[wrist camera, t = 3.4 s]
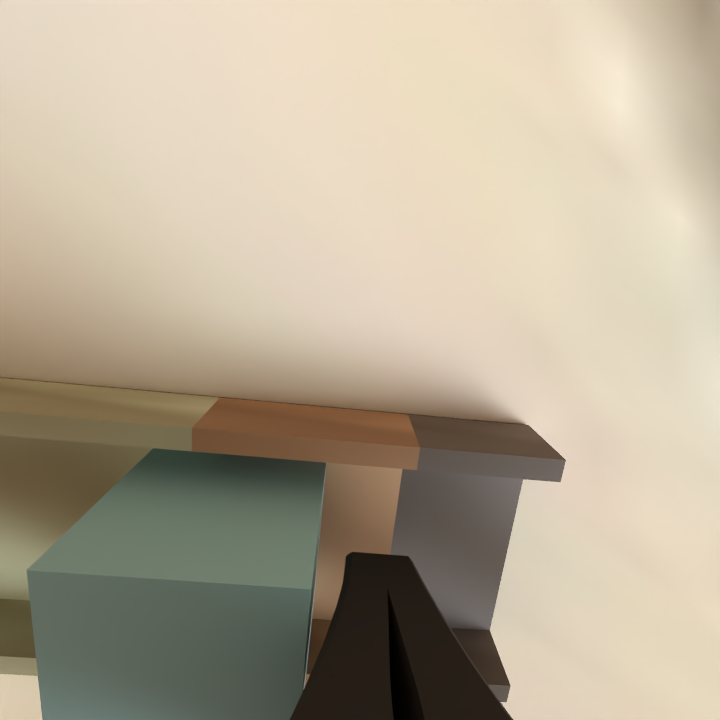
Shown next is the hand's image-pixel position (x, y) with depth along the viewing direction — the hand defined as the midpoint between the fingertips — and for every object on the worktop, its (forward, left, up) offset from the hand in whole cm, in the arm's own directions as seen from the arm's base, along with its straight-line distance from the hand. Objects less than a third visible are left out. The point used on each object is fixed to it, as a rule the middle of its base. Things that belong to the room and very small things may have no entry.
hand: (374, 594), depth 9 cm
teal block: (0, +3, -2) cm, 4 cm away
